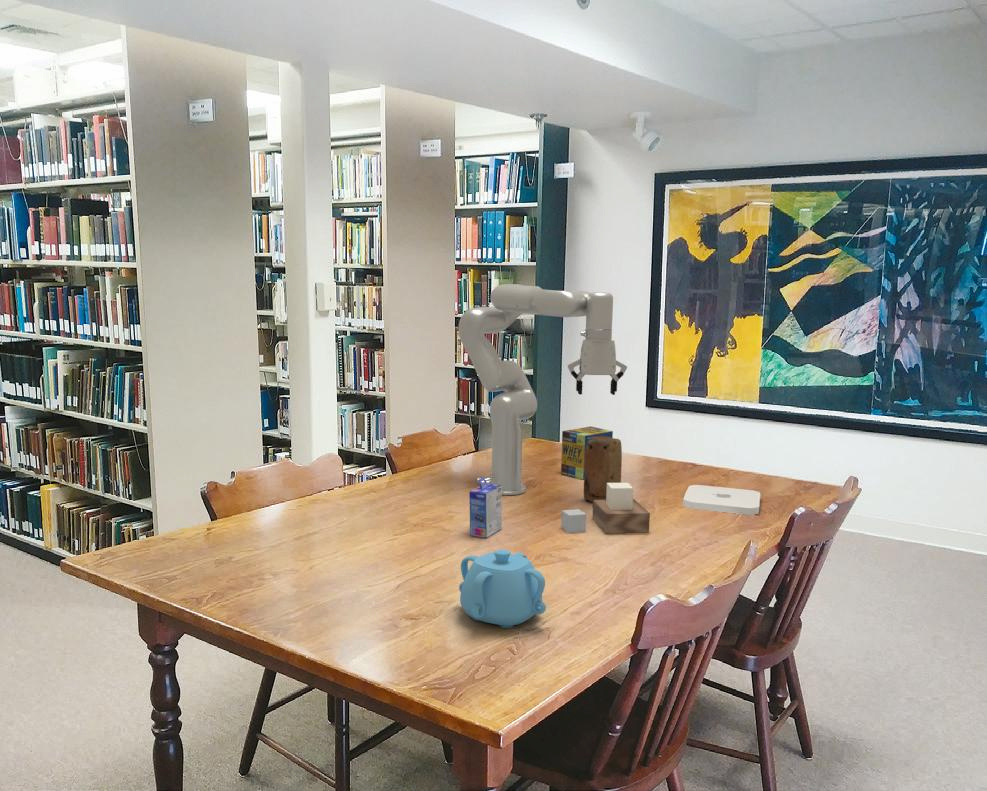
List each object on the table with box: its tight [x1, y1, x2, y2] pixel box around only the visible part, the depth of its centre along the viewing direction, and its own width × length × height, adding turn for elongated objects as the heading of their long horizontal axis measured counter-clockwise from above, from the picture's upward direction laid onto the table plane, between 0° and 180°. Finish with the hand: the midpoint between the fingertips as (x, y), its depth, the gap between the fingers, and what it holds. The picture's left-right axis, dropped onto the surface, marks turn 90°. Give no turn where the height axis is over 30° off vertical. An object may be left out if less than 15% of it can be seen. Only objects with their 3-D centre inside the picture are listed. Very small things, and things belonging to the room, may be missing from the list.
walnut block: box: [591, 498, 651, 535], centre depth 227 cm, size 12×14×6 cm
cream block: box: [606, 482, 634, 510], centre depth 226 cm, size 6×6×6 cm
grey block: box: [560, 508, 587, 534], centre depth 223 cm, size 5×5×5 cm
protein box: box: [560, 425, 614, 481], centre depth 286 cm, size 10×15×16 cm
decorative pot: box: [458, 548, 547, 629], centre depth 164 cm, size 16×16×14 cm
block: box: [583, 436, 623, 503], centre depth 250 cm, size 11×8×20 cm
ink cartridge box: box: [468, 476, 503, 539], centre depth 218 cm, size 10×6×14 cm, turn 155°
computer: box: [682, 484, 761, 516], centre depth 253 cm, size 22×22×3 cm
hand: (596, 394), depth 239 cm, fingers open, 9 cm apart
